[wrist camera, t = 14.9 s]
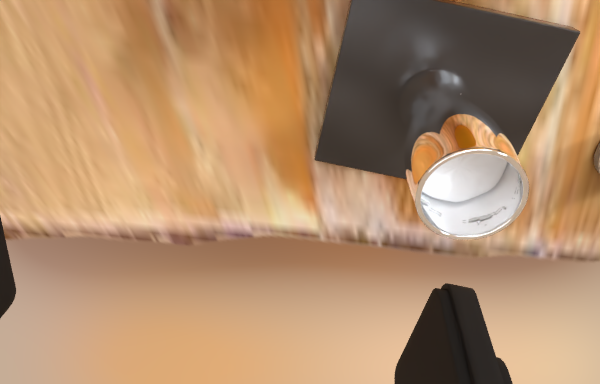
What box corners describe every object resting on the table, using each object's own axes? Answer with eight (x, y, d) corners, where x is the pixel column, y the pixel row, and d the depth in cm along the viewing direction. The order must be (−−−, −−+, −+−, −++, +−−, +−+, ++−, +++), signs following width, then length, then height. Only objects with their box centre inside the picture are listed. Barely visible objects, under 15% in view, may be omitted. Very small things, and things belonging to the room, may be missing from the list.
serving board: (355, -21, 37) (355, -18, 36) (573, 27, 37) (581, 31, 36) (315, 153, 46) (314, 160, 44) (492, 189, 46) (496, 198, 45)
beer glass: (451, 148, 42) (493, 256, 30) (380, 125, 42) (393, 224, 29) (491, 79, 39) (558, 168, 26) (413, 51, 38) (444, 129, 26)
